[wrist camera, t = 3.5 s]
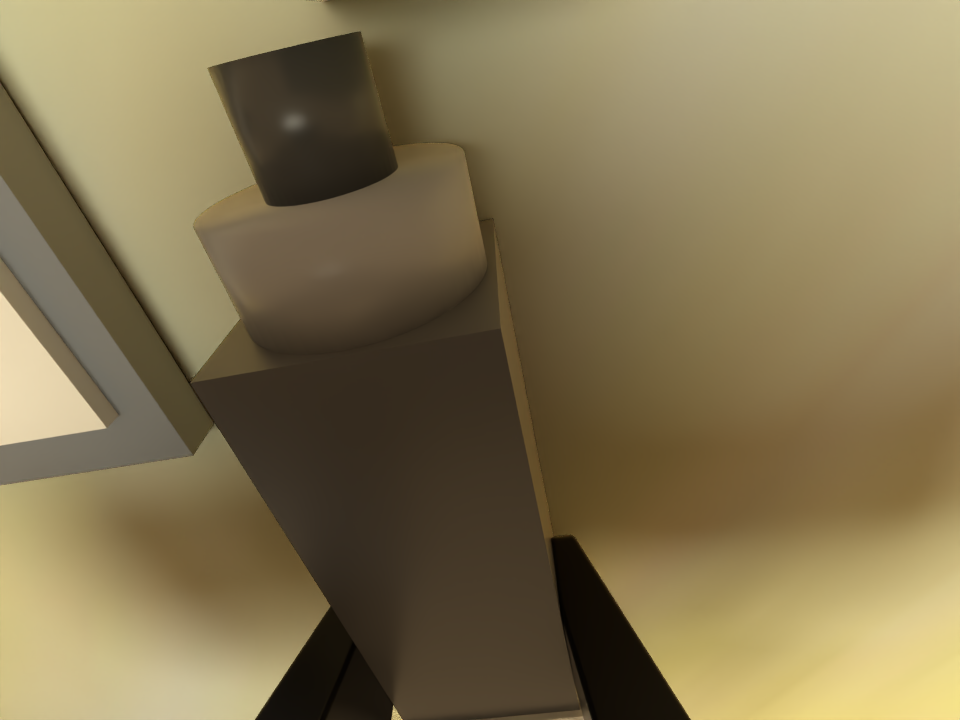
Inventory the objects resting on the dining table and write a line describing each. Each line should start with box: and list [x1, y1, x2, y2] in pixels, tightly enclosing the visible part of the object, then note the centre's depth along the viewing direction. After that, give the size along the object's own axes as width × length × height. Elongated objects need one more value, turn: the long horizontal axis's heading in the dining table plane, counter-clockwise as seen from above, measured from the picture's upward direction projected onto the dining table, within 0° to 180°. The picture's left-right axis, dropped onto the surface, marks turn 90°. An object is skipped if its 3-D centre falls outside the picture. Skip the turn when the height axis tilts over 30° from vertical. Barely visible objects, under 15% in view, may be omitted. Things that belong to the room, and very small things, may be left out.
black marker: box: [190, 32, 584, 720], centre depth 9 cm, size 14×3×3 cm, turn 11°
